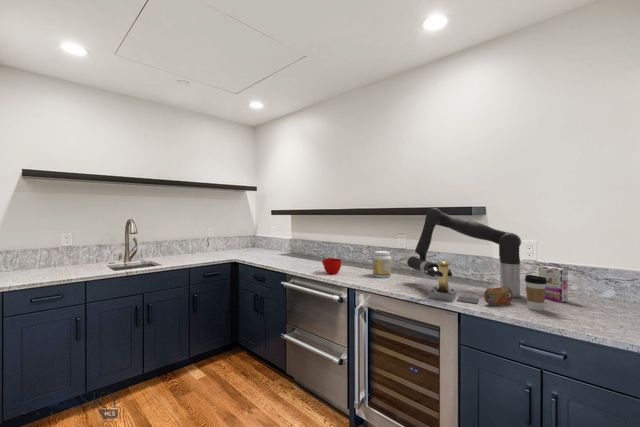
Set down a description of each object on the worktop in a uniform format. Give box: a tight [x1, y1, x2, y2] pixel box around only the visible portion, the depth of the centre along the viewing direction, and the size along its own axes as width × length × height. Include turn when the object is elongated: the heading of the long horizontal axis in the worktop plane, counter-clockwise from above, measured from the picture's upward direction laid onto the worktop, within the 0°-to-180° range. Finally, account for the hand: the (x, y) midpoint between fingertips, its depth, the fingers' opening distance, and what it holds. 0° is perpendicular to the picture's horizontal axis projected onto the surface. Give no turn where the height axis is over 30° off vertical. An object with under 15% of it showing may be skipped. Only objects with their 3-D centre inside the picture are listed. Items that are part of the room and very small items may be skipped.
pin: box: [436, 260, 451, 293], centre depth 160 cm, size 6×6×16 cm
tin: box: [483, 286, 513, 307], centre depth 149 cm, size 15×3×8 cm, turn 105°
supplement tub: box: [372, 250, 392, 279], centre depth 212 cm, size 12×12×17 cm
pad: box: [456, 295, 480, 305], centre depth 155 cm, size 9×9×1 cm
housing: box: [428, 286, 456, 302], centre depth 160 cm, size 11×11×4 cm
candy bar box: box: [538, 265, 569, 303], centre depth 158 cm, size 11×5×16 cm, turn 21°
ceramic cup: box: [321, 257, 342, 275], centre depth 222 cm, size 13×17×10 cm
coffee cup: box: [524, 274, 547, 312], centre depth 142 cm, size 8×8×15 cm
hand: (446, 274), depth 158 cm, fingers closed on pin, 4 cm apart
